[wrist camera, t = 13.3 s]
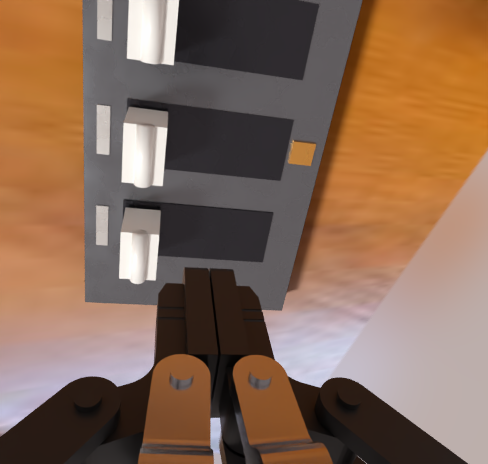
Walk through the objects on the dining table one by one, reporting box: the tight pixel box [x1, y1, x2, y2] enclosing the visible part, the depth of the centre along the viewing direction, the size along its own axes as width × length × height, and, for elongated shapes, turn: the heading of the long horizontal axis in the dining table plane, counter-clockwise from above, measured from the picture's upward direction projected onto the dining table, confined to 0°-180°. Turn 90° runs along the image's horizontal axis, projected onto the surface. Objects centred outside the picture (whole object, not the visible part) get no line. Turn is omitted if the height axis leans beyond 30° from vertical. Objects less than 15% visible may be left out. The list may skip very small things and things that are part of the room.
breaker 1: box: [127, 0, 179, 65], centre depth 24 cm, size 4×2×4 cm, turn 170°
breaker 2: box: [119, 208, 161, 284], centre depth 31 cm, size 4×2×4 cm, turn 170°
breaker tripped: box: [122, 107, 168, 188], centre depth 27 cm, size 4×2×4 cm, turn 170°
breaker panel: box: [83, 0, 362, 311], centre depth 31 cm, size 28×16×2 cm, turn 170°
